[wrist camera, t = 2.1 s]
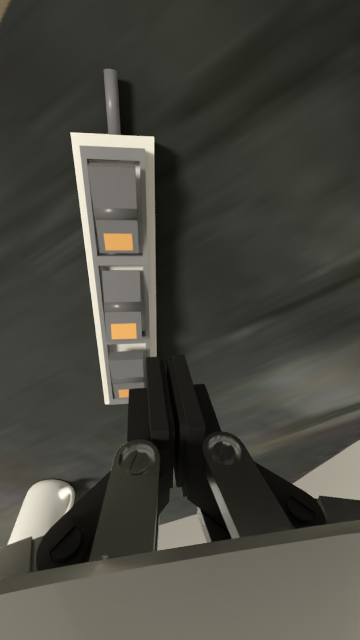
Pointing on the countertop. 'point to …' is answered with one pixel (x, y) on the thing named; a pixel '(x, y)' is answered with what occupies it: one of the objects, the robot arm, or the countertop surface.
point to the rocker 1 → (115, 206)
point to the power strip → (142, 155)
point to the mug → (42, 509)
